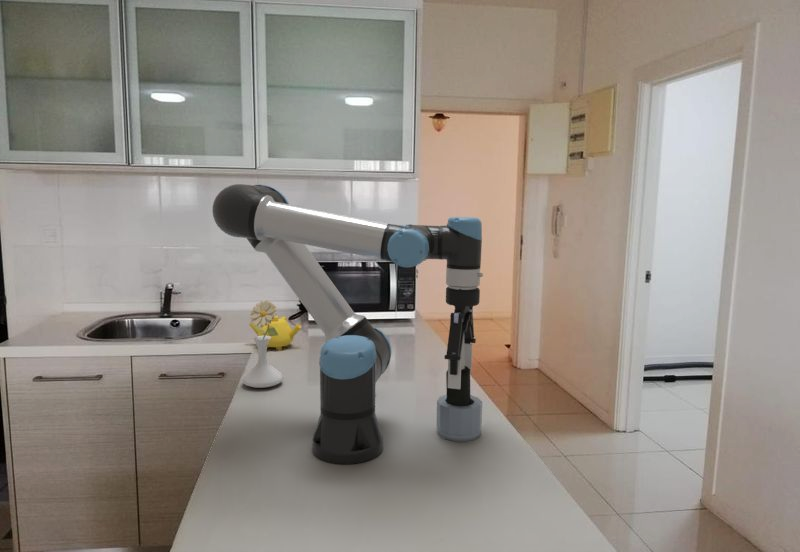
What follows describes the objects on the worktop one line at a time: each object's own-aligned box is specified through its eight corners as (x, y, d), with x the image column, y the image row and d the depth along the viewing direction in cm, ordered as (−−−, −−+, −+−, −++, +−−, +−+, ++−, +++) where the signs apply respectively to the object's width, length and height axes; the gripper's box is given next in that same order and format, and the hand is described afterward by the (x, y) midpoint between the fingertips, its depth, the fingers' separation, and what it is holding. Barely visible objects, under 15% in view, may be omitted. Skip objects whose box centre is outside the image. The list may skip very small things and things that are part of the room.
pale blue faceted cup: (476, 444, 124) (477, 411, 123) (432, 437, 127) (433, 406, 126) (483, 426, 133) (484, 396, 132) (442, 421, 136) (443, 391, 135)
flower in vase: (234, 384, 161) (232, 298, 157) (269, 375, 169) (268, 293, 165) (258, 396, 152) (256, 305, 148) (294, 386, 160) (293, 299, 156)
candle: (468, 429, 127) (467, 320, 123) (446, 427, 128) (444, 319, 125) (471, 420, 131) (470, 315, 128) (449, 419, 133) (448, 315, 130)
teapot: (237, 351, 195) (236, 319, 194) (261, 338, 212) (261, 309, 211) (290, 355, 191) (290, 323, 189) (311, 342, 208) (311, 313, 206)
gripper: (469, 296, 112) (466, 398, 115) (488, 280, 136) (484, 365, 139) (433, 294, 114) (430, 394, 117) (457, 278, 138) (454, 362, 141)
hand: (460, 378), depth 128 cm, fingers open, 13 cm apart
